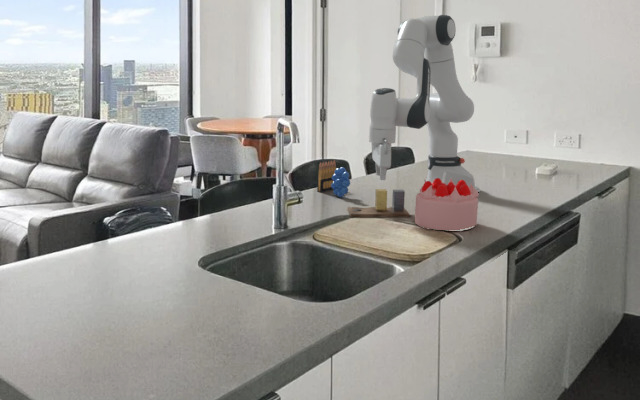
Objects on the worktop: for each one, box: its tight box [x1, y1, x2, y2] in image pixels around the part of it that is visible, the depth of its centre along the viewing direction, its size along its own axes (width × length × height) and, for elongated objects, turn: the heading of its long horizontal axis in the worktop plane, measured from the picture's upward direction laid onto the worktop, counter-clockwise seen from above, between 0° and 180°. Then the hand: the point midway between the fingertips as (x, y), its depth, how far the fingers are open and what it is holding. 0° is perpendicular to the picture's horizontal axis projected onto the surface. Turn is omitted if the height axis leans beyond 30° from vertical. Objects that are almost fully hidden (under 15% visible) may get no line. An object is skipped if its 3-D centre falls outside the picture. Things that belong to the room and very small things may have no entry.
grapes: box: [331, 166, 351, 199], centre depth 249 cm, size 12×7×12 cm, turn 31°
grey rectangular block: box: [391, 189, 406, 212], centre depth 224 cm, size 4×4×7 cm
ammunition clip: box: [316, 159, 337, 193], centre depth 263 cm, size 11×2×12 cm, turn 140°
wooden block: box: [374, 188, 388, 210], centre depth 224 cm, size 4×4×7 cm
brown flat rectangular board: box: [347, 206, 410, 218], centre depth 224 cm, size 20×11×1 cm, turn 93°
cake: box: [414, 178, 480, 231], centre depth 209 cm, size 20×20×14 cm
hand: (380, 177), depth 222 cm, fingers open, 8 cm apart
